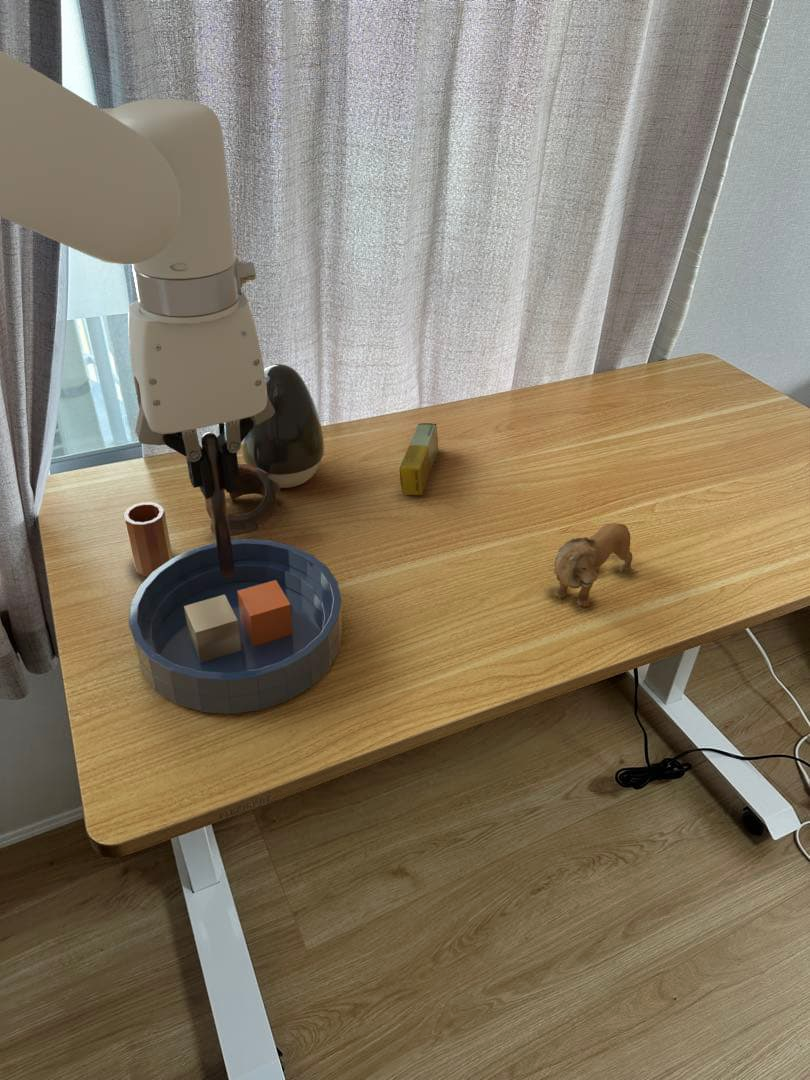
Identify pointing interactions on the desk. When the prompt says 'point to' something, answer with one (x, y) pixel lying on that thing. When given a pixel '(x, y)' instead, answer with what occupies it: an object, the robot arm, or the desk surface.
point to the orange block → (265, 612)
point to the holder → (148, 536)
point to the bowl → (255, 669)
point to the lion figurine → (590, 559)
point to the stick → (219, 506)
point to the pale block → (212, 628)
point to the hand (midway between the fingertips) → (215, 486)
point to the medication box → (419, 459)
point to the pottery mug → (251, 483)
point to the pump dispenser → (286, 431)
